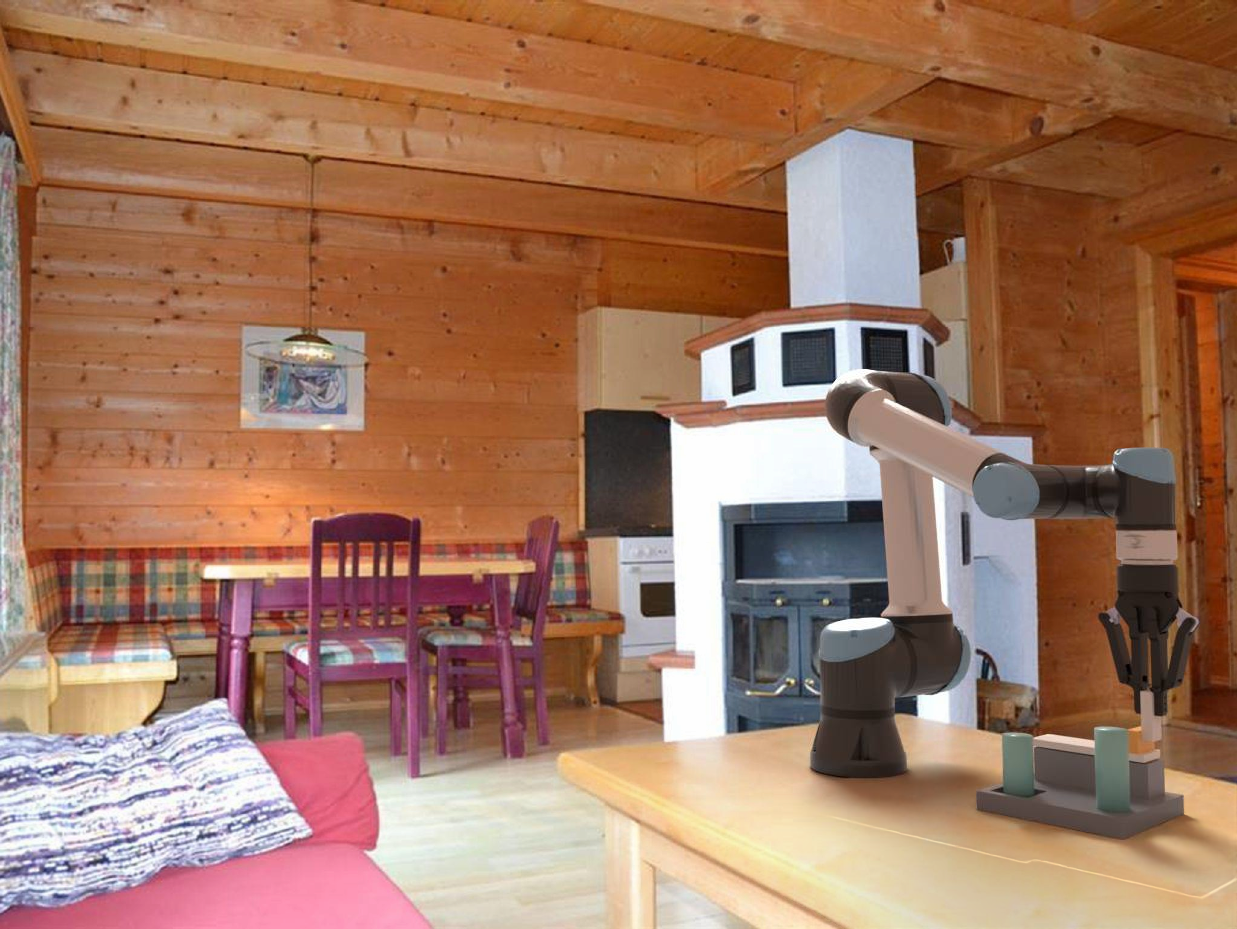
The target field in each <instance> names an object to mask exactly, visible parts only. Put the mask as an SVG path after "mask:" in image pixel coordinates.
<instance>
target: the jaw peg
mask: <svg viewBox="0 0 1237 929" xmlns="http://www.w3.org/2000/svg"><path fill="white" fill-rule="evenodd" d="M1033 738H1034V735H1032V734H1029V733H1025V732H1004V733H1002V734H1001V741H1002V742H1001V744H1002V745H1001V746H1002V747H1001V750H1002V752H1001V753H1002V754H1001V755H1002V783H1003V793H1004V794H1009V795H1014V796H1020V797H1025V798H1028V797H1032V796H1034V746H1033Z"/></svg>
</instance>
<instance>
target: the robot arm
mask: <svg viewBox="0 0 1237 929" xmlns="http://www.w3.org/2000/svg"><path fill="white" fill-rule="evenodd" d="M950 399H951V398H950V397H949V395H948V392H947V391H946V389H945V387H944V386H943V385H942V384H941V383H939V382H938V381H937V380H936V379H934V378H933V377H931V376H928V375H925V374H924V375H923V374H918V373H916V372H911V371H910V372H903V371H902V372H899V371H883V370H872V369H856V370H851V371H849V372H846V373H845V374H842V375H841V376H840V377H838V378H837V379H836V380H835V381H834V382H833V383H832V384H831V386H830V387H829V389H828V391H827V393H826V396H825V402H824V412H825V417H826V419H827V421H828V423H829V425H830V426H831V428H832V429H833V430H834V431H835V433H837V434H838V435H840V436H842V437H843V438H844V439H846V440H848V441H851V442H853V443H854V444H856V445H858V446H860V447H864V448H865V447H867V448H868V449H869V450H868V451H869V455H870V456H871V457H873V459H875V460H876V461H877V462H878V464H879V473H880V474H879V476H880V487H881V502H882V518H883V532H884V543H885V546H884V547H885V560H886V573H887V587H888V588H887V589H888V602H889V603H888V605H887V606H886V608H885V609H884V610H883V611H882V613H880V617H860V618H850V619H849V618H848V619H843V620H840V621H839V620H838V621H835V622H832V623H830V624H827V625H825V627H824V628H823V629H822V631H821V632H820V635H819V637H820V639H819V641H820V642H819V649H818V657H819V682H820V683H819V685H820V689H819V690H820V691H819V692H820V694H819V695H820V719H819V723H818V726H817V730H816V733H815V736H814V739H813V743H812V747H811V750H810V752H809V756H810V757H809V764H810V768H811V769H812V770H813V771H817V772H819V773H822V774H826V775H830V776H837V777H845V778H859V779H860V778H862V779H863V778H864V779H869V778H872V779H875V778H889V777H895V776H899V775H902V774H904V773H906V772H907V771H908V757H907V756H908V755H907V752H906V751H905V749H904V744H903V741H902V738H901V735H900V732H899V729H898V726H897V722H896V713H895V712H896V711H895V709H896V706H895V705H896V704H895V702H896V700H895V699H896V698H905V697H913V696H922V695H924V696H935V695H938V694H939V693H945V692H949V691H952V690H953V689H955V688H957V686H959V685H960V683H961V682H962V681H963V680H964V679H965V677H967V676H966V675H967V674H968V672H969V669H970V665H971V655H972V654H971V652H972V651H971V645H970V641H969V639H968V637H967V635H966V634H964V631H963V629H962V628H961V627H960V626H959V625H957V624H955V623H954V616H953V611H952V610H951V609H950V608H949V607H948V606H947V605H946V604H945V603H944V602H943V595H942V584H941V583H942V582H941V569H940V568H941V567H940V557H939V556H940V555H939V544H938V543H939V542H938V531H937V530H938V529H937V517H936V503H935V490H934V478H935V479H937V480H939V481H941V482H942V483H945V484H946V485H948V486H950V487H952V488H953V489H955V490H957V491H960V492H961V493H963V494H966V495H968V496H970V498H973V500H974V502H975V504H976V505H977V507H978V508H979V510H980V512H982V513H983V514H984V515H986V516H987V517H990V518H994V519H1002V520H1006V521H1016V520H1039V519H1041V520H1042V519H1043V520H1044V519H1045V520H1048V519H1049V520H1056V519H1057V520H1069V521H1071V520H1072V521H1073V520H1082V519H1083V520H1085V519H1086V520H1088V519H1090V520H1091V519H1114V525H1115V552H1116V554H1115V555H1116V556H1115V557H1116V559H1117V560H1119V561H1120V562H1121V563H1118V565H1117V566H1116V589H1117V596H1116V599H1115V601H1114V606H1113V607H1111V608H1110V609H1108V610H1106V611H1103V612H1100V613H1098V615H1097V618H1098V620H1099V623H1101V625H1102V626H1103V628H1104V629H1105V632H1106V636H1107V639H1108V643H1109V648H1110V652H1111V655H1112V659H1113V660H1112V661H1113V663H1114V667H1115V670H1116V674H1117V679H1118V681H1119V683H1120V684H1122V685H1127V686H1128V687H1131V689H1132V690H1133V705H1134V707H1133V708H1134V709H1133V710H1134V713H1135V714H1137V715H1140V726H1141V733H1142V741H1149V742H1154V743H1155V742H1158V741H1161V740H1162V738H1163V737H1162V733H1163V732H1162V717H1165V716H1167V714H1168V712H1169V710H1168V692H1169V691H1170V690H1171V689H1172V690H1173V689H1176V688H1180V687H1182V685H1183V681H1184V678H1185V672H1186V668H1187V664H1188V660H1189V655H1190V651H1191V645H1192V642H1193V638H1194V634H1195V632H1196V631H1197V630H1198V628H1199V627H1200V625H1201V623H1202V619H1201V617H1199V616H1196V615H1195V616H1193V615H1191V614H1190V613H1188V612H1187V611H1185V610H1184V609H1183V604H1182V602H1181V600H1180V598H1179V591H1180V590H1179V567H1178V566H1177V564H1174V561H1177V559H1178V558H1179V557H1178V556H1179V555H1178V554H1179V553H1178V552H1179V551H1178V531H1177V522H1176V519H1177V516H1176V514H1177V513H1176V512H1177V511H1176V509H1177V508H1176V505H1177V504H1176V502H1177V500H1176V495H1177V494H1176V493H1177V492H1176V491H1177V490H1176V489H1177V486H1176V484H1177V478H1176V472H1175V471H1176V469H1175V462H1174V455H1173V453H1172V451H1171V450H1170V449H1168V448H1164V447H1129V448H1119V449H1117V450H1116V451H1114V453H1113V459H1112V463H1110V464H1104V465H1103V464H1101V465H1062V464H1061V465H1058V464H1057V465H1055V464H1053V465H1051V464H1032V463H1031V464H1030V463H1027V462H1024V461H1021V460H1020V459H1016V458H1015V457H1014V456H1013V457H1012V456H1010V455H1008V454H1006V453H1005V452H1003V451H1001V450H998V449H996V448H994V447H992V446H989V445H988V444H986V443H983V442H981V441H979V440H977V439H974V438H973V437H970V436H968V435H966V434H964V433H962V432H960V431H957V430H955V429H954V428H951V427H950V425H951V423H952V416H953V412H952V404H951V403H952V402H951V400H950ZM1122 619H1123V621H1124V623H1125V624H1126V625H1127V627H1128V637H1129V638H1130V653H1129V648H1128V644H1127V641H1126V636H1125V633H1124V628H1123V626H1122V625H1121V624H1122V623H1121V622H1122ZM1176 620H1177V622H1176V626H1177V627H1178V629H1177V631H1176V634H1175V638H1174V643H1173V647H1172V652H1171V656H1170V660H1169V656H1168V639H1169V634H1170V633H1169V629H1170V627H1171V626H1172V625H1173V624H1174V622H1175V621H1176ZM1149 643H1150V645H1149ZM1149 646H1150V672H1149ZM1130 654H1131V655H1130ZM1168 660H1169V661H1168ZM1149 673H1150V674H1149ZM1149 675H1150V676H1149ZM1149 677H1150V679H1151V681H1149V680H1150V679H1149ZM1150 682H1151V683H1150Z"/></svg>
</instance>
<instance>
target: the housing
mask: <svg viewBox="0 0 1237 929" xmlns="http://www.w3.org/2000/svg"><path fill="white" fill-rule="evenodd" d="M1093 733H1094V734H1093V737H1094V738H1093V739H1094V742H1095V755H1089V754H1083V753H1076V752H1070V751H1063V750H1057V749H1050V748H1044V747H1037V746H1033V752H1034V796H1032V797H1028V798H1025V797H1020V796H1014V795H1009V794H1004V793H1003V782H1000V783H996V784H994V785H991V786H988V787H984V788H980V789H977V790H976V792H975V796H976V798H975V799H976V803H975V804H976V810H979V811H984V812H988V813H993V814H998V815H1002V816H1008V817H1013V818H1017V819H1023V820H1028V821H1032V822H1037V823H1041V824H1046V825H1051V826H1056V827H1061V828H1065V829H1070V830H1075V831H1080V832H1084V833H1085V832H1086V833H1089V834H1095V835H1099V836H1104V837H1109V838H1115V839H1119V840H1125V839H1127V838H1129V837H1132V836H1134V835H1137V834H1139V833H1141V832H1144V831H1147V830H1149V829H1152V828H1154V827H1156V826H1159V825H1161V824H1163V823H1165V822H1168V821H1170V820H1173V819H1176V818H1177V817H1180V816H1183V815H1185V801H1184V800H1185V798H1184V794H1179V793H1174V792H1168V791H1166V788H1165V787H1166V782H1165V781H1166V780H1165V759H1162V758H1158V759H1155V760H1152V761H1149V762H1145V763H1141V762H1135V761H1129V742H1128V729H1126V728H1122V727H1116V726H1097V727H1094V729H1093Z"/></svg>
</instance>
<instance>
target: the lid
mask: <svg viewBox="0 0 1237 929" xmlns="http://www.w3.org/2000/svg"><path fill="white" fill-rule="evenodd" d="M1127 730H1128V742H1129V761H1135V762H1141V763H1145V762H1149V761H1152V760H1155V759H1161V749H1155V748H1156V747H1155V742H1149V741H1142V733H1141V725H1140V726H1136V727H1133V728H1128V729H1127ZM1033 747H1044V748H1050V749H1057V750H1063V751H1070V752H1076V753H1083V754H1089V755H1095V742H1094V740H1093V739H1085V738H1079V737H1072V736H1066V735H1065V736H1064V735H1059V734H1058V735H1057V734H1051V733H1047V734H1043V735H1039V736H1035V737H1034V736H1033Z"/></svg>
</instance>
